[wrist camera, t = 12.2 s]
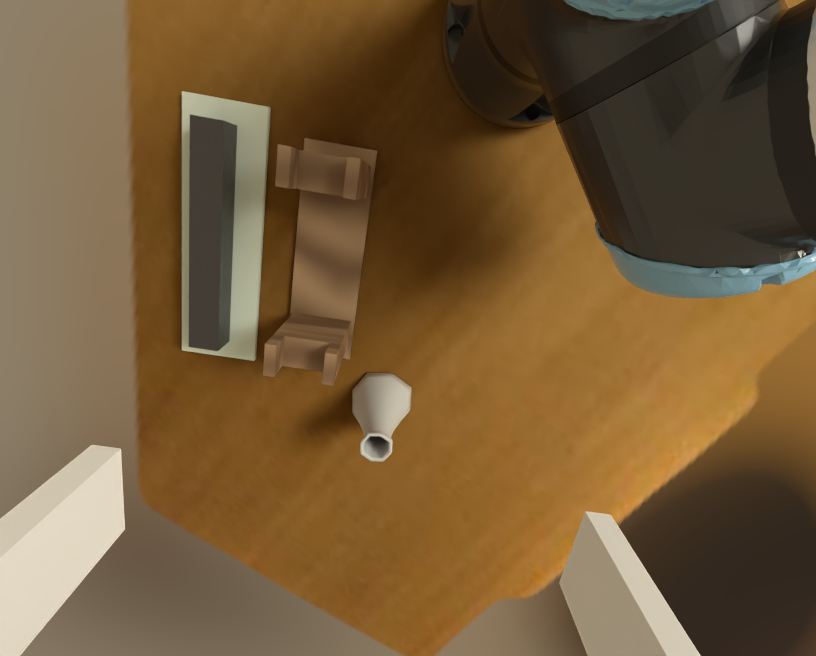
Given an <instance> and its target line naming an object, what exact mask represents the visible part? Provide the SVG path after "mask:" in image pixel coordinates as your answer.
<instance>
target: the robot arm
mask: <svg viewBox="0 0 816 656" xmlns="http://www.w3.org/2000/svg"><path fill="white" fill-rule="evenodd" d="M442 41H443V54H444V60H445V64H446V68H447V71H448V75H449V77H450V80H451V82H452V84H453V86H454V88H455V90H456V91H457V93H458V94H459V96H460V97H461V99H462V100H463V101H464V102H465V103H466V105H467V106H468V107H469V108H470V109H471V110H473V111H474V112H475V113H476V114H478V115H479V116H481V117H482V118H484V119H486V120H487V121H489V122H492V123H494V124H497V125H500V126H504V127H510V128H528V127H534V126H538V125H542V124H545V123H547V122H550V121H552V120H554V119H555V121H556V124H557V127H558V129H559V132H560V134H561V137H562V139H563V141H564V144H565V146H566V149H567V151H568V154H569V156H570V158H571V161H572V163H573V166H574V168H575V171H576V173H577V176H578V178H579V180H580V183H581V185H582V188H583V190H584V193H585V195H586V197H587V200H588V202H589V205H590V207H591V210H592V212H593V214H594V217H595V219H596V223H595V227H596V232H597V234H598V237H599V238H600V240H601V241H602V242H603V244H604V245H605V246H606V247H607V248H608V250H609V252H610V255H611V257H612V259H613V261H614V263H615V265H616V267H617V269H618V271H619V272H620V273H621V274H622V275H623V276H624V277H625V278H626V279H627V280H628V281H629V282H630V283H632V284H633V285H635V286H637V287H639V288H641V289H643V290H645V291H648V292H651V293H654V294H659V295H663V296H669V297H678V298H719V297H729V296H736V295H742V294H747V293H752V292H757V291H759V290H760V288H761V285H762V284H775V285H783V284H785V283H788V282H791V281H794V280H796V279H798V278H801V277H803V276H805V275H807V274H809V273H811V272H812V271H814V270H815V269H816V0H806V1H804V2H802V3H800V4H798V5H796V6H794V7H792V8H789V9H788V7H787V5H786V3H785V1H784V0H448V4H447V8H446V13H445V17H444V24H443V38H442ZM124 530H125V520H124V500H123V480H122V461H121V449H120V448H112V447H105V446H97V445H91V446H90V447H88V448H87V449H86V450H85V451H84V452H83V453H81V454H80V455H79V456H78V457H76V458H75V459H74V460H72V461H71V462H70V463H69V464H68V465H66V466H65V467H64V468H63V469H61V470H60V471H59V472H58V473H56V474H55V475H54V476H53V477H51V478H50V479H49V480H48V481H46V482H45V483H44V484H43V485H42V486H40V487H39V488H38V489H37V490H36V491H34V492H33V493H32V494H30V495H29V496H28V497H27V498H25V499H24V500H23V501H22V502H21V503H19V504H18V505H17V506H16V507H14V508H13V509H12V510H11V511H9V512H8V513H7V514H6V515H4V516H3V517H2V518H1V519H0V656H20V655H21V654H22V653H23V651H24V650H25V649H26V648H27V647H28V645H29V644H30V643H31V642H32V640H33V639H34V638H35V637H36V636H37V634H38V633H39V632H40V631H41V630H42V628H43V627H44V626H45V625H46V623H47V622H48V621H49V620H50V619H51V618H52V616H53V615H54V614H55V613H56V612H57V610H58V609H59V608H60V607H61V605H62V604H63V603H64V602H65V601H66V599H67V598H68V597H69V596H70V595H71V593H72V592H73V591H74V590H75V589H76V587H77V586H78V585H79V584H80V583H81V581H82V580H83V579H84V578H85V577H86V575H87V574H88V573H89V572H90V571H91V569H92V568H93V567H94V566H95V565H96V563H97V562H98V561H99V559H100V558H101V557H102V556H103V555H104V554H105V553H106V551H107V550H108V549H109V548H110V546H111V545H112V544H113V543H114V541H115V540H116V539H117V538H118V537H119V536H120V534H121V533H122V532H123V531H124ZM559 584H560V586H561V589H562V591H563V594H564V596H565V599H566V601H567V604H568V606H569V609H570V611H571V614H572V616H573V619H574V622H575V624H576V627H577V629H578V632H579V634H580V637H581V640H582V642H583V645H584V647H585V650H586V652H587V655H588V656H700V654H699V653H698V651H697V650H696V648H695V646H694V645H693V643H692V642H691V640H690V639H689V637H688V635H687V634H686V632H685V631H684V629H683V628H682V626H681V624H680V623H679V621H678V620H677V618H676V617H675V615H674V613H673V612H672V610H671V609H670V607H669V606H668V604H667V603H666V601H665V599H664V598H663V596H662V595H661V593H660V591H659V590H658V589H657V587H656V586H655V584H654V582H653V580H652V579H651V578H650V576H649V574H648V573H647V571H646V570H645V568H644V566H643V565H642V563H641V562H640V560H639V559H638V557H637V555H636V554H635V552H634V551H633V549H632V548H631V546H630V544H629V543H628V541H627V540H626V538H625V536H624V535H623V533H622V532H621V530H620V529H619V527H618V525H617V524H616V522H615V521H614V519H613V518H612V516H611V515H609V514H602V513H594V512H587V511H585V514H584V516H583V519H582V522H581V525H580V527H579V530H578V533H577V536H576V538H575V541H574V544H573V547H572V549H571V552H570V555H569V558H568V560H567V563H566V566H565V569H564V571H563V574H562V577H561V580H560V582H559Z"/></svg>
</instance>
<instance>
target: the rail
mask: <svg viewBox="0 0 816 656" xmlns="http://www.w3.org/2000/svg"><path fill="white" fill-rule="evenodd" d="M236 148H237V125H234V124H232V123H229V122H227V121H224V120H218V119H213V118H207V117H201V116H196V115H190V155H189V347H193V348H199V349H206V350H213V351H219V350H220V349H221V348H222V347H223V346H225V345H226V344H227V343H228V342H229V338H230V311H231V284H232V257H233V230H234V203H235V176H236Z"/></svg>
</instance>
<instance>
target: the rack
mask: <svg viewBox="0 0 816 656" xmlns="http://www.w3.org/2000/svg"><path fill="white" fill-rule="evenodd" d="M376 159H377V151H376V150H370V149H364V148H359V147H353V146H348V145H342V144H337V143H331V142H325V141H320V140H314V139H309V138H304V150H299V149H296V148H294V147H291V146H285V145H280V144H278V149H277V164H276V180H275V186H277V187H282V188H288V189H300V199H299V211H298V223H297V235H296V247H295V259H294V271H293V283H292V296H291V308H290V317H289V318H288V319H287V320H286V321H285V322H284V324H283V325H282V326H281V327H280V328H279V329H278V330H277V331H276V332H275V333H274V334H273V336H272V337H271V338H270V339H269V340H268V341H267V342H266V343H265V349H264V365H263V376H270V377H275V375H276V374H277V372H278V371H279V370H280V368H281V367H282V366H286V367H293V368H300V369H306V370H313V371H320V372H323V377H322V384H325V385H332V386H333V384H334V382H335V379H336V376H337V374H338V371H339V368H340V365H341V363H342V360H343V359H350V354H351V347H352V339H353V332H354V324H355V317H356V309H357V302H358V294H359V287H360V279H361V272H362V264H363V256H364V249H365V241H366V234H367V226H368V219H369V211H370V204H371V196H372V189H373V181H374V174H375V166H376Z"/></svg>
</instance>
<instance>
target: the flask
mask: <svg viewBox="0 0 816 656" xmlns="http://www.w3.org/2000/svg"><path fill="white" fill-rule="evenodd" d="M411 389H412V388H411V387H410V386H409V385H407V384H406V383H405V382H403V381H402V380H400V379H399V378H398V377H396V376H395V375H394V374H392V373H368V372H367V374H366V375H365V376H364V377H363V378H362V379H361V381H360V382H359V383H358V384H357V385H356V386H355V387H354V389H353V390H352V412H353V414H354V416H355V418H356V419H357V421H358V422H359V424H360V426H361V428H362V430H363V432H364V437H363V439H362V440H361V441H360V454H361V455H362V456H364V457H365V458H367V459H368V460H369V461H379V462H384V461H385V460H386V459H387V458H388V456H389V455H390V454H391V453H392V439H391V436H392V433H393V431H394V430H395V428H396V427H397V426H398V424H399V423H400V422H401V420H402V419H403V418H404V417H405V416H406V415H407V413H408V412H409V411H410V408H411Z"/></svg>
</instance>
